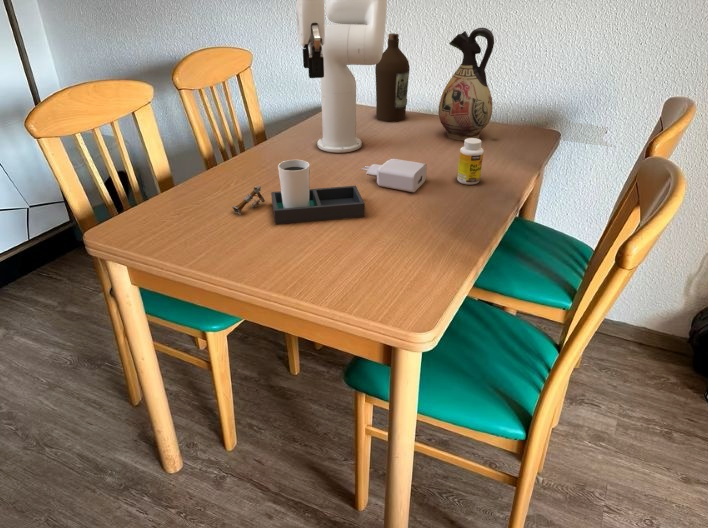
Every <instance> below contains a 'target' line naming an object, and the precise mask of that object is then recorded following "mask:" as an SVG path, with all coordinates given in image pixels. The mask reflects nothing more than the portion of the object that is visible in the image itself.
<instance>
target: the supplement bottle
mask: <svg viewBox="0 0 708 528" xmlns="http://www.w3.org/2000/svg"><path fill="white" fill-rule="evenodd" d="M484 153H485V152H484V148H482V140H481V139H480V138H467V139H465V140H464V143H463V146H462V147H461V148H460V149H459V158H458V166H457V167H458V168H457V176H456V177H457V178H456V180H457V181H458V182H459V183H461V184H463V185H468V186H469V185H477V184H478V183H479V182H480V180H481V175H482V174H481V173H482V166H483V159H484Z"/></svg>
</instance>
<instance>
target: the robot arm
mask: <svg viewBox="0 0 708 528" xmlns="http://www.w3.org/2000/svg"><path fill="white" fill-rule="evenodd" d="M295 3H296V4H295V5H296V37H297V38H296V39H297V41H298V43H299V44H300V46H302V64H303V65H302V66H303V68H304V69H308V71H307V72H308V78H309V79H320V96H321V97H320V98H321V99H320V100H321V127H322V129H321V130H322V131H321V133H322V137H321V138H319V139H318V140H317V143H316V144H317V145H316V146H317V148H318V149H319V150H321V151H324V152H327V153H338V154H340V153H341V154H343V153H351V152H354V151H357V150H359V149H360V148H361V147H362V140H361V139H360V138H359V137H357V81H356V78H355V76H354V73H352V71H351V70H350V67H348V66H374V65H375V66H376V64H377V63H379V62H380V60H381V58H382V54H383V52H384V45H385V35H386V24H387V22H386V21H387V9H388V4H387V3H388V1H387V0H296V2H295ZM325 15H326V18H327V19H328V21H330V22H332V23H331V24H326V25H325V22H326V21H325Z"/></svg>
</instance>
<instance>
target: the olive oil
mask: <svg viewBox="0 0 708 528" xmlns="http://www.w3.org/2000/svg"><path fill="white" fill-rule="evenodd" d="M399 36H400V34H399V33H395V32H394V33H393V32H392V33H388V35H387V37H388V38H387V48H386V49H385V50H383V54H382V58H381V60H380V62H379V63H377V64H375V67H374V69H375V72H374V73H375V109H376V110H375V112H376V119H377V120H379V121H383V122H387V123H388V122H401V121H403V120H405V119H406V111H407V105H408V90H409V79H410V63H409V59H408V58H407V56H406V55H405V54H404V53H403V51H402V50H401V49H400V38H399Z"/></svg>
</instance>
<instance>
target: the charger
mask: <svg viewBox="0 0 708 528" xmlns="http://www.w3.org/2000/svg"><path fill="white" fill-rule="evenodd" d="M361 170H362V171H365V172H366V175H367V176H369V177H376V184H377V185H378V187H382V188H387V189H394V190H398V191H402V192H403V191H404V192H409V193H415V192H416V191H417V190H418V189H419V188H420V187H421V186H422V185H423V184H425V181H426V179H427V170H428V164H427V163H424V162H417V161H412V160H405V159H399V158H390V159H387V160H386V161H385V162H384V163H383V164H377V163H372V164H370V165H369V166H368V165H364V168H361Z"/></svg>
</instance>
